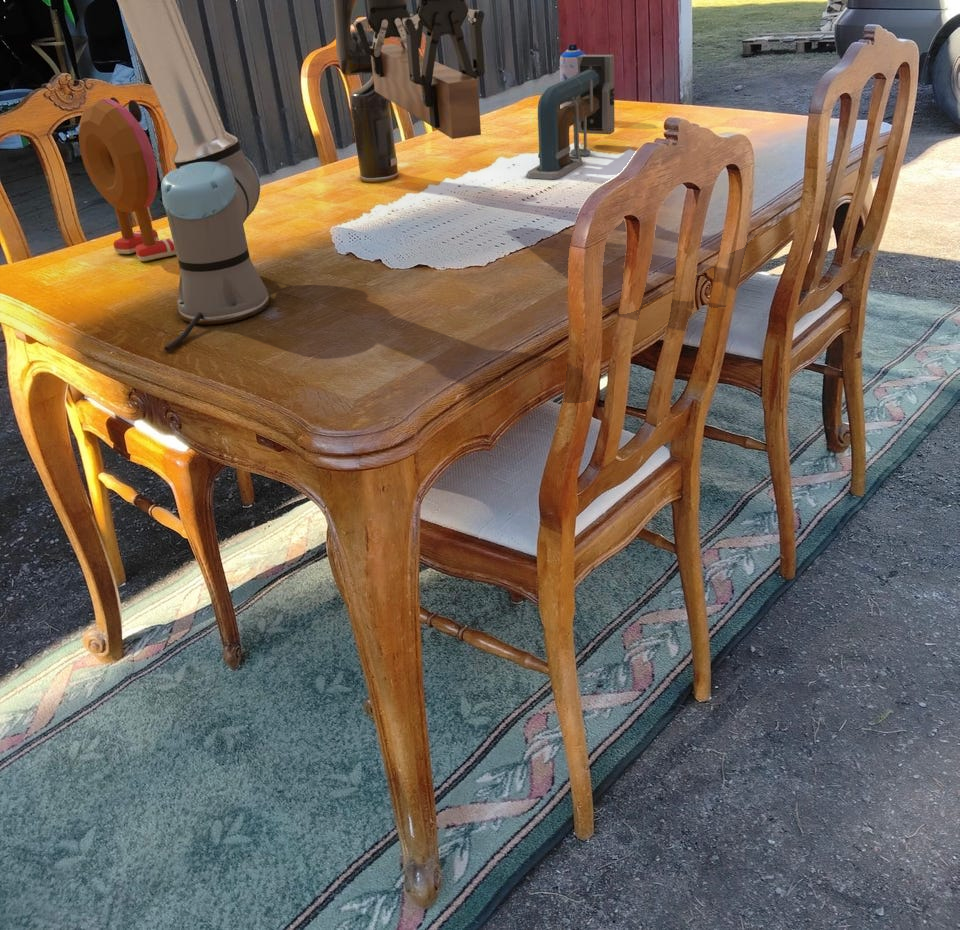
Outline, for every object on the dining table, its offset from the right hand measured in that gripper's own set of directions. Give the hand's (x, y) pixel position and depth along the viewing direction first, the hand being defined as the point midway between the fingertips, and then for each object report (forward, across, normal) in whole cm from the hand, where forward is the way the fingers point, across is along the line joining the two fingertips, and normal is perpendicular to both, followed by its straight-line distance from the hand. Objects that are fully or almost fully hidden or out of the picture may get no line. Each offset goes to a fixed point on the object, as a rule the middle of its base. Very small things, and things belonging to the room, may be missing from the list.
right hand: (394, 74), depth 191 cm
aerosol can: (+29, -68, -66) cm, 99 cm away
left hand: (+3, 0, +35) cm, 35 cm away
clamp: (+28, -48, -23) cm, 61 cm away
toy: (+29, +54, -6) cm, 61 cm away
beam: (+4, 0, +18) cm, 18 cm away
